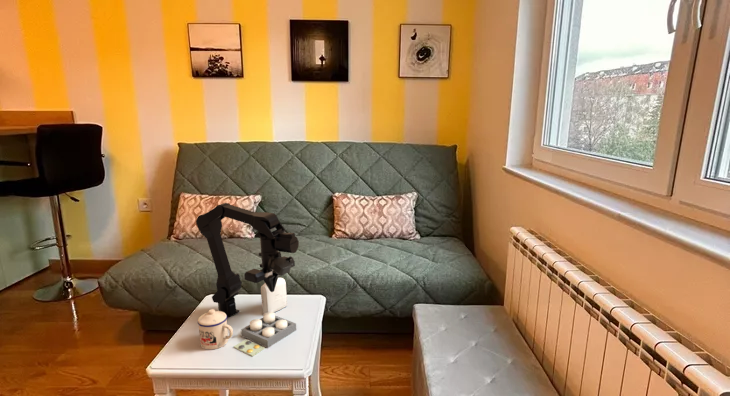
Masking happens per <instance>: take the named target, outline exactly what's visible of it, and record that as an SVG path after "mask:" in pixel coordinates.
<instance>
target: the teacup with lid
mask: <svg viewBox="0 0 730 396" xmlns="http://www.w3.org/2000/svg"><path fill="white" fill-rule="evenodd" d="M227 320H228V318H227V315H226V314H225V313H224V312H222V311H219V310H215V309H213V308H211V309H209V310H208V312H205V313H203V314H201V316H199V317H198V319H197V324H198V331H199V339H200V340H199V341H200V347H201V348H203V349H204V350H216V349H220V348H222V347H224V346H226V345H227V343H228V342H229V339H231V338H232V336H233V333H234V330H233V327H232V326H231V325H230V324H228V321H227Z"/></svg>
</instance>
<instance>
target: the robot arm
mask: <svg viewBox="0 0 730 396" xmlns="http://www.w3.org/2000/svg"><path fill="white" fill-rule="evenodd" d="M225 218H228V219H231V220H234V221H237V222H240V223H244V224H247V225H249V226H251V227H252V228H253V230H255V231H257V232H256V234H255V235H254V236H253V237H254V238H257V239H259V246H260V252H258V257H261V263H259V268H262V269H256V268H252V269H250V270H248V271H247V270H246V271H245V272H244V281H248V282H251V283H255V284H258V283H260V282H262V281H263V282H264V284H265V283H266V285H267V287H268V288H269V290H270V291H271V292H274V290H275V286H276V283H277V280H278V278H280V276H281V277H282V276H285V275H286V274H289V273H290V272H291V268H294V267H295V266H296V263H295V262H296V261H295V260H294V257H293V256H291V255H290V256H285V255H283V256H282V253H288V254H295V253H296V252H297V251H298V249H299V245H300V244H299V243H300V242H299V240H298V237H297V236H296V234H295V232H286V229H285V227H284V226H283V224H282V223H281V222H280V220H279V218H278V216H277V214H276V213H273V212H265V211H262V212H259V211H258V212H257V211H253V210H248V209H246V208H242V207H239V206H235V205H233V204H231V203H229V202H224V203H220V204H217V206H215V207H214V208H212V209H211V210H208V211H207V212H205V213H203V214H200V215H198V216H197V217H196V219H195V224H196V226H197V229H198V230H199V232H200V234H201V235H202V236H203V237H204V238H205V239H206V240H207V244H208V247H209V251H210V254H211V258H212V260H213V263H214V266H215V270H216V273H217V278H216V279H217V280H216V283H215V284H216V285H215V286H216V292H215V293H214V294H213V295H212V296H211V299H212V302H213V303H216V304H217V308H218V311H222V312H224V313H225V314H226V315H227V319H229V318H230V317H232V316H234V315H236V314H238V313H240V310H239V309H237V306H236V305H237V304H236V299H235V296H238V295H239V293H240V291H241V288H242V283H243V282H242V281H241V277H240V274H239V273H235V272H234V271H233V270H232V268H231V265H230V261H229V258H228V255H227V252H226V248H225V245H224V241H223V238H222V236H221V235H222V234H221V233H222V229H223V224H222V220H223V219H225Z"/></svg>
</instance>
